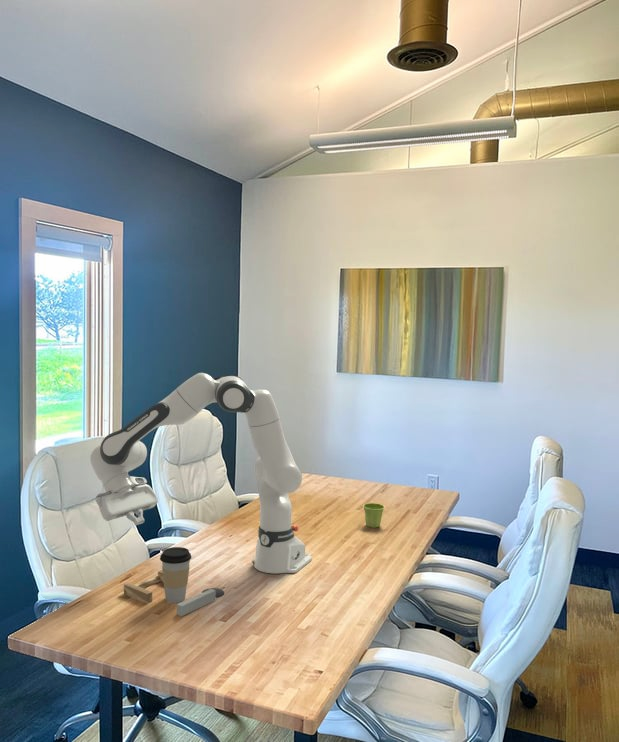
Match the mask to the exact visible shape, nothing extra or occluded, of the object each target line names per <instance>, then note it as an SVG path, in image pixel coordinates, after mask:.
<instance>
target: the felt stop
mask: <svg viewBox="0 0 619 742" xmlns="http://www.w3.org/2000/svg"><path fill="white" fill-rule="evenodd" d="M209 589H210V588H209ZM214 601H216V590H213V589H210V590H207V591H205V592H203V593H202V592H201V593H198V594H197V595H195V596H193V597H190V598H188V599H185V600H184V601H182V602H179V603H176V615H177V614H178V616H180V617H183V616H186V615H187V613H188V614H190V613H191V612H194V611H196V610H198V609H200V608H201V607H204V606H206V605H208V604H210V603H212V602H214Z"/></svg>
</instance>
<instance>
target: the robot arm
mask: <svg viewBox="0 0 619 742" xmlns="http://www.w3.org/2000/svg"><path fill="white" fill-rule="evenodd" d="M212 403H217V404H218V405H219V408H221V409H222V410H223V411H225V412H228V413H241V414H242V413H243V414H244V415H245V416H246V420H247V424H248V428H249V431H250V436H251V440H252V443H253V444H252V445H253V447H254V449H255V450H256V452H257V454H258V457H257V458H256V459H255V461H254V463H253V464H254V465H253V473H254V475H255V478H256V484H257V485H256V486H257V490H258V498H259V507H260V508H259V512H260V513H259V516H260V517H259V526H258V530H257V532H258V533H257V536H258V539H257V541H256V547H255V548H256V550H255V555H254V557H253V559H252V560H253V563H254V564H253V566H254V568H255V570H257V571H259V572H262V573H266V574H287V573H288V574H296V573H298V571H300V570H301V569H302V568H304V567H305V566H306V565H308V563H310V562H311V561H312V560H313V559H312V556H311V555H309V554H308V553H306V545H305V543H304V542H302V541H301V540H300V539H299V538H298V537H297V536H295V533H294V532H298V531H299V526H298V525H294V524H293V525H292V512H293V511H292V510H293V508H292V502H291V499H290V496H289V494H292V493H294V492H297V490H298V489H299V488H300V486H301V485H302V481H303V476H302V472H301V470H300V469H299V467H298V465H297V464H296V462H295V459H294V457H293V454H292V452H291V449H290V447H289V445H288V442H287V440H286V438H285V433H284V428H283V426H282V421H281V417H280V414H279V410H278V408H277V407H278V406H277V405H276V402H275V400H274V397H273V395H272V393H271V392H270V391H268V390H267V389H264V388H263V389H262V388H259V389H255V390H254V389H250V388H249V387H248V386H247V384H246V382H245V381H244V380H243V379H242V378H241V377H240V376H238V375H235V374H226V375H222V376H217V377H212V376H211V375H209V374H208V373H205V372H198V373H196V374H194V375H193V376H191V377H189V378H187V380H185V381H183V382H182V383H181V384H180V385H179V386H178V387H177V388H175V389H174V390H173V391H172V392H171V393H170V394H169V395H167V396H166V397H165V398H163V399H162V400H160V401H159V402H158V403H156V404H153V405H152V406H151V407H149V408H148V409H146V410H145V411H144V412H142V413H141V414H139V416H137V417H136V418H134V419H133V420H131V421H130V422H129V423H128V424H127V425H125V426H124V427H122V428H120V429H119V430H117V431H114V432H111V433H109V434H107V435H105V437H104V438H103V440H102V442H101V443H100V445H98V446H97V447H95V448H94V450H93V451H92V452H91V453H90V457H89V458H90V459H89V460H90V465H91V466H92V468H93V471H94V473H95V475H96V477H97V478H98V480H100V482H101V484H102V487H103V489H104V491H105V492H103V493H101V492H100V493H98V494H97V495H96V497H95V502H96V504H97V506H98V508H99V512H100V514H101V517H102V518H103V520H105V521H107V522H108V521H110V522H111V521H112V520H115V519H119V518H123V517H126V518H127V519H128V520H129V521H131V522H132V523H133V525H134V526H139V525H141V524H144V523H145V522H146V521H145V518H144V516H143V515H144V511H146V510H150V509H153V508H154V507H156V505H157V504H158V502H159V498H158V496H157V494H156V492H155V491H154V490H153V488H152V487H151V485H149V484H147V483H148V481H147V479H146V478H145V477H138V476H134V475H133V476H131V475H129V473H130V472H131V471H133V470H135V469H137V468H139V467H140V466H142V465H143V464H144V463H145V461H146V459H147V458H148V449H147V448H148V447H147V445H146V444H145V443H144V442H142V441H141V440H142V439H143V438H144V437H146V436H147V435H148V434H149V433H150V432H152V431H154V430H155V429H157V428H159V427H164V426H175V425H176V426H179V425H184V424H186V423H188V422H189V421H191V420H192V419H194V418H195V417H197V415H198V414H199V413H200V412H202V411H203V410H204V409H205V407H207V406H209V405H211V404H212ZM134 514H135V515H134Z"/></svg>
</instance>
